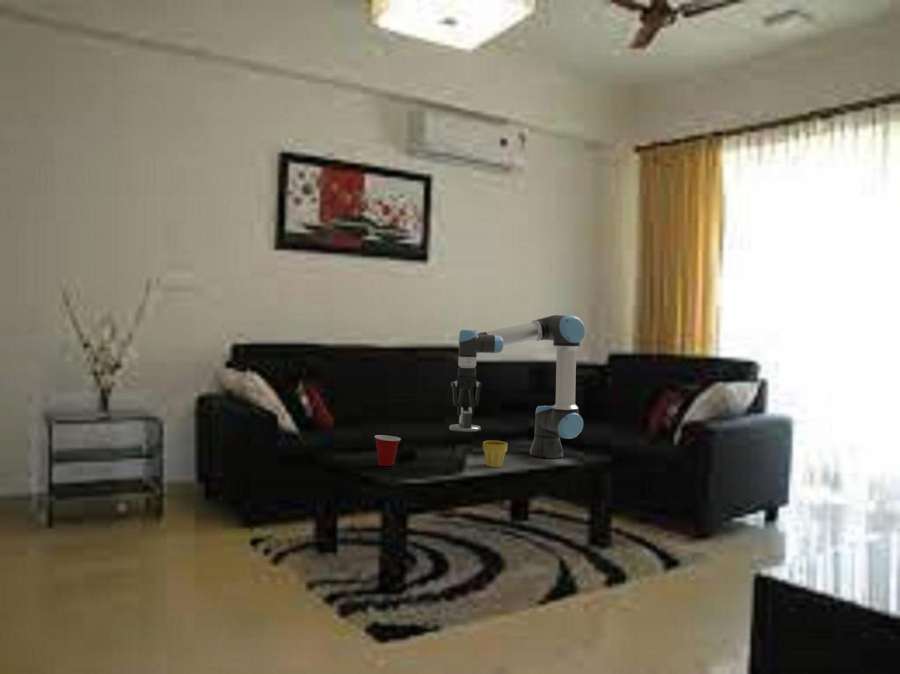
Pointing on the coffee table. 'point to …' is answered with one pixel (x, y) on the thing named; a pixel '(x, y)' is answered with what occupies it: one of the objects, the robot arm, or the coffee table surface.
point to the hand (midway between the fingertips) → (465, 422)
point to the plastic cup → (386, 449)
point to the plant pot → (494, 452)
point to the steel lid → (465, 424)
